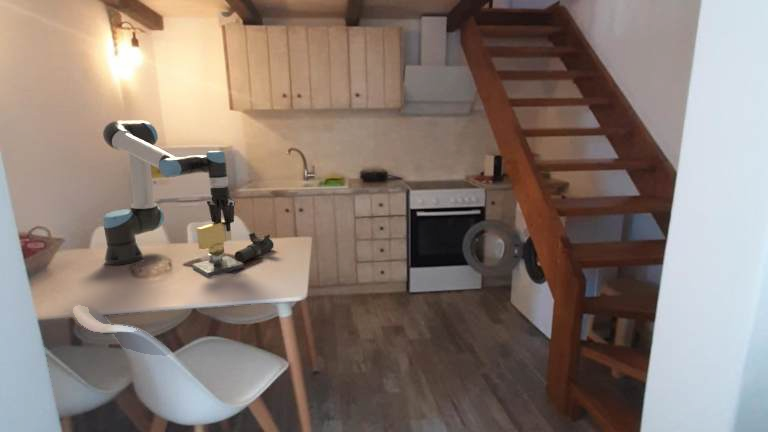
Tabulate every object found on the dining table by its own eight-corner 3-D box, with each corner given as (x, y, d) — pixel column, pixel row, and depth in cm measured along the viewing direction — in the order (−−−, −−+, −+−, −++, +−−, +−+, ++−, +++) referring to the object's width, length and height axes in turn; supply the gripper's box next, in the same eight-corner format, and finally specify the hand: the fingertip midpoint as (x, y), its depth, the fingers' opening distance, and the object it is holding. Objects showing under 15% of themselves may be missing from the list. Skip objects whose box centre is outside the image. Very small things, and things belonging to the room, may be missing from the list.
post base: (193, 268, 186) (191, 253, 184) (227, 259, 197) (226, 245, 195) (208, 277, 175) (206, 261, 173) (243, 267, 186) (242, 252, 184)
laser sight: (231, 262, 194) (229, 241, 192) (262, 248, 215) (261, 229, 212) (248, 264, 191) (246, 243, 188) (278, 250, 211) (277, 231, 209)
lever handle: (196, 257, 178) (193, 227, 176) (224, 246, 193) (222, 219, 190) (208, 258, 176) (204, 229, 173) (235, 248, 190) (232, 220, 187)
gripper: (198, 187, 182) (204, 239, 187) (229, 188, 178) (234, 241, 183) (210, 184, 189) (215, 234, 194) (239, 185, 185) (244, 236, 190)
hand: (224, 237), depth 188 cm, fingers open, 2 cm apart
